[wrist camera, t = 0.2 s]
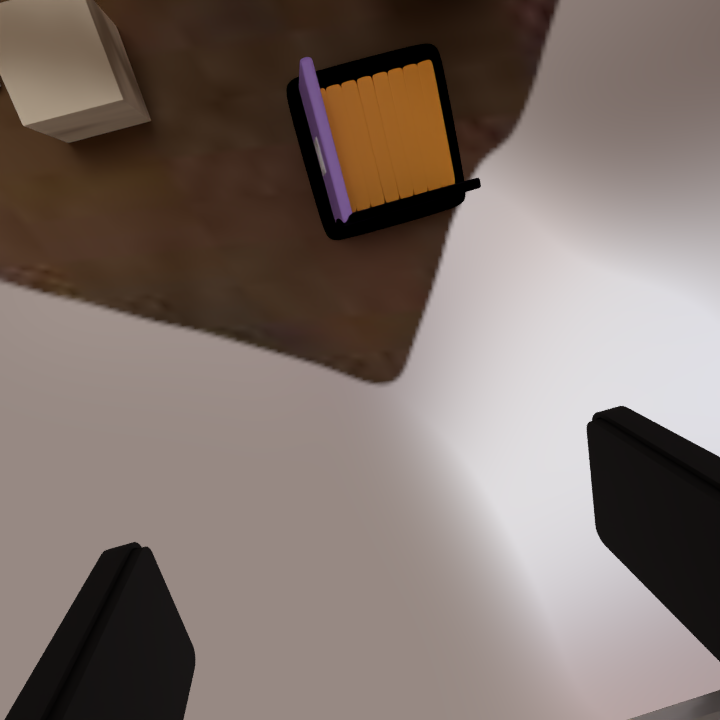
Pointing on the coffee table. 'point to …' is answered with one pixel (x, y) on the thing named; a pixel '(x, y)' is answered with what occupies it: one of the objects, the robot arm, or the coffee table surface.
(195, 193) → the coffee table surface
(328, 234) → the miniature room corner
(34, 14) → the maple cube
